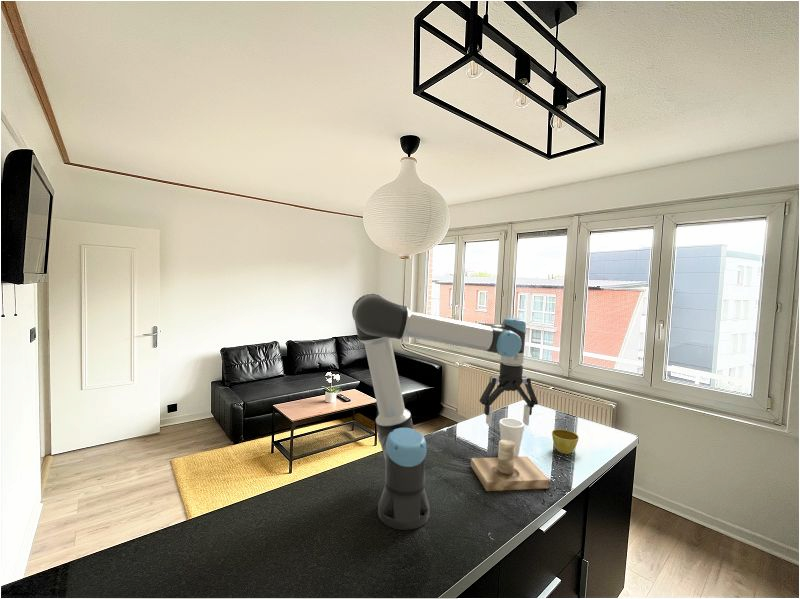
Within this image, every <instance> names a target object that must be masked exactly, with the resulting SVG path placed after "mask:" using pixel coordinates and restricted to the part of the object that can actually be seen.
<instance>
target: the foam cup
mask: <svg viewBox="0 0 800 599" xmlns="http://www.w3.org/2000/svg"><path fill="white" fill-rule="evenodd" d="M498 428H499V431H500V433H499V435H500V440H510V441H513V442H514V443H515V454H514V457H519V454H520V449H521V445H522V440H523V433H524V431H525V424H524V423H523V420H520V419H517V418H512V417H505V418H500V419H499V426H498Z"/></svg>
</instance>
